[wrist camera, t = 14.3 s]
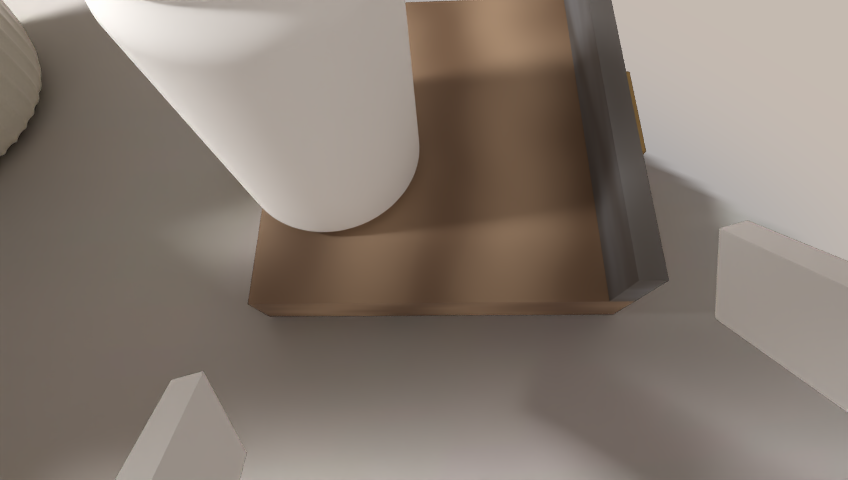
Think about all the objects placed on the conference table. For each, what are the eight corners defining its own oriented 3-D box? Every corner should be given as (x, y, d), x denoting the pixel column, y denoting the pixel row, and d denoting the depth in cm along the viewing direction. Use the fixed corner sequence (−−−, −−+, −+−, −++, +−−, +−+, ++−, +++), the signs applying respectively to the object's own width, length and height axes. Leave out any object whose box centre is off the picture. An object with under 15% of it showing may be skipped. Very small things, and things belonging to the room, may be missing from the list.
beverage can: (449, 125, 22) (452, -183, 10) (365, 268, 19) (254, 62, 8) (310, 70, 23) (185, -248, 12) (217, 194, 21) (-47, -61, 10)
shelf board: (269, 316, 21) (213, 284, 16) (305, 41, 27) (273, -45, 22) (622, 314, 20) (680, 280, 15) (576, 32, 27) (607, -59, 22)
